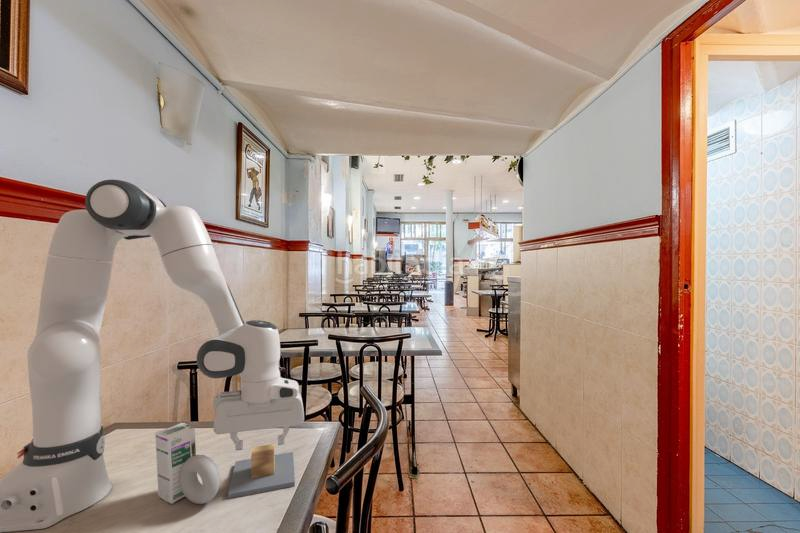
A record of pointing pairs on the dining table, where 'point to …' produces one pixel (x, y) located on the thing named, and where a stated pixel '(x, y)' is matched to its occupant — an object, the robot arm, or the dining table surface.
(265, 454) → the oak cube
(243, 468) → the slate mat
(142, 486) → the dining table surface
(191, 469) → the donut
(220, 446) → the dining table surface
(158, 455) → the syrup box
